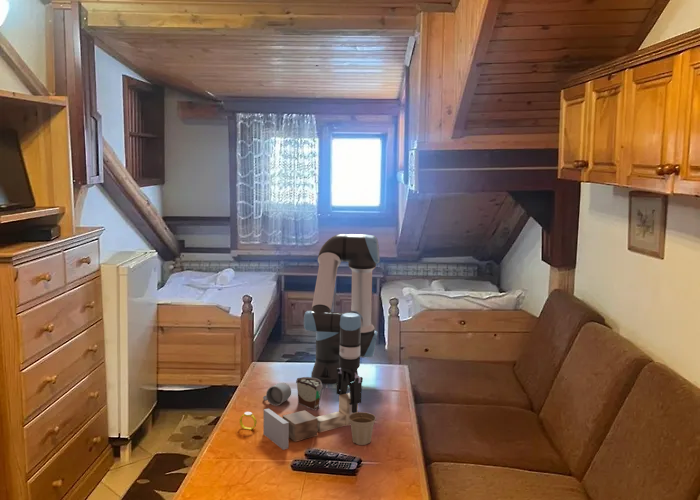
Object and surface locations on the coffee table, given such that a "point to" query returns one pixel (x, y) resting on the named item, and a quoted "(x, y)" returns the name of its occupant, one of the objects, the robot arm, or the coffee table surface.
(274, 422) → the wall
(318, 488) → the coffee table surface
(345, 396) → the cream l-shaped piece
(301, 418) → the block
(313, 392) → the half-round slice
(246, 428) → the watch
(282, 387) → the ceramic mug
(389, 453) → the coffee table surface
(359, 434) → the flower pot
